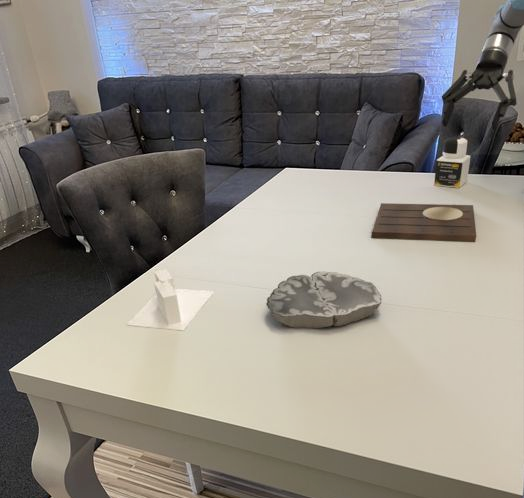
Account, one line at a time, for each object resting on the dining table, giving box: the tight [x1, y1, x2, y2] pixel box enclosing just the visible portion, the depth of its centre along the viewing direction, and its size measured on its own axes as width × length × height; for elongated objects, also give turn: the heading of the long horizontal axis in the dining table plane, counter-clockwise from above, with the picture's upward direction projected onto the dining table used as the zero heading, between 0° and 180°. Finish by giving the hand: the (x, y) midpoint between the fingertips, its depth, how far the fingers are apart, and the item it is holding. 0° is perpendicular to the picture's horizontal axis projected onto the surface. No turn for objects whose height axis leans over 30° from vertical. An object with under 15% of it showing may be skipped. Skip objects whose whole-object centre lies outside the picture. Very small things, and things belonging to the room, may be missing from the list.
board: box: [370, 202, 477, 243], centre depth 125 cm, size 22×20×2 cm
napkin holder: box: [126, 268, 215, 331], centre depth 97 cm, size 15×11×6 cm
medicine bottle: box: [433, 136, 471, 189], centre depth 147 cm, size 7×7×12 cm
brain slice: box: [265, 271, 382, 329], centre depth 94 cm, size 20×17×3 cm
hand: (468, 125), depth 149 cm, fingers open, 13 cm apart
